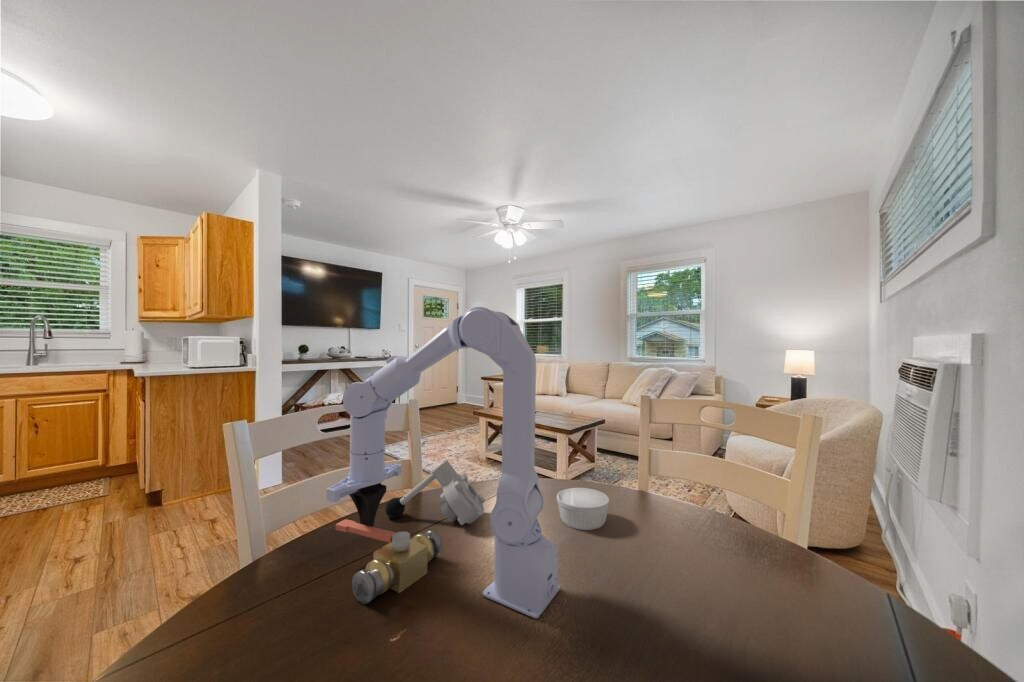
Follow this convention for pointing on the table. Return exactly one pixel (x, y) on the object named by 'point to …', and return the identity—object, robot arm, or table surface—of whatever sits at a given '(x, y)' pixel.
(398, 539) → the lever
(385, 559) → the valve pipe
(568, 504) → the ramekin
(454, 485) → the mechanical valve
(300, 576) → the table surface
